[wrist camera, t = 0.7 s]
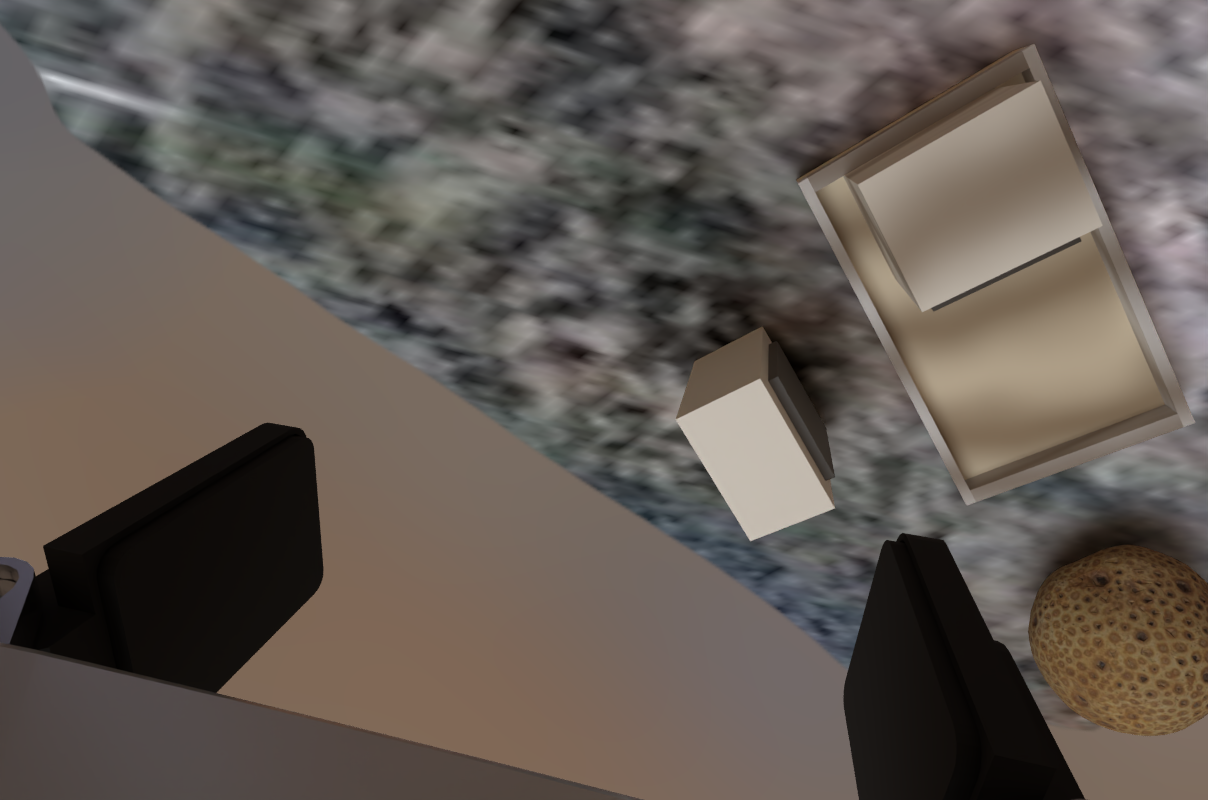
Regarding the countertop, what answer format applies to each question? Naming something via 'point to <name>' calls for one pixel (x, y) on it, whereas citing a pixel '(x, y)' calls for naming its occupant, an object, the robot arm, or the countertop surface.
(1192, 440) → the countertop surface
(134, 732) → the robot arm
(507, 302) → the countertop surface
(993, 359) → the beige tray with blocks
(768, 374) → the tall beige carton
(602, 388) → the countertop surface
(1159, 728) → the natural sponge
